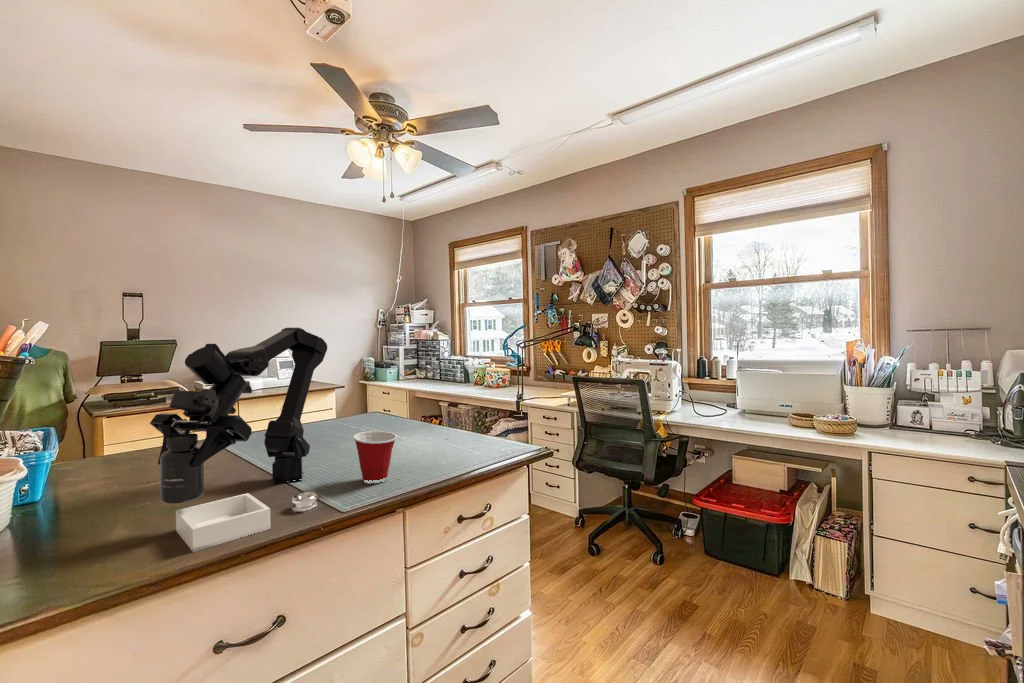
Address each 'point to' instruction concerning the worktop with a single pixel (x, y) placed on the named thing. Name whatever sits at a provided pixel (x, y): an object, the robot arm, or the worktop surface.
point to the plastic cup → (374, 453)
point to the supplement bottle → (181, 470)
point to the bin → (222, 521)
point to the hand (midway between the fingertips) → (176, 465)
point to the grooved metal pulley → (304, 501)
